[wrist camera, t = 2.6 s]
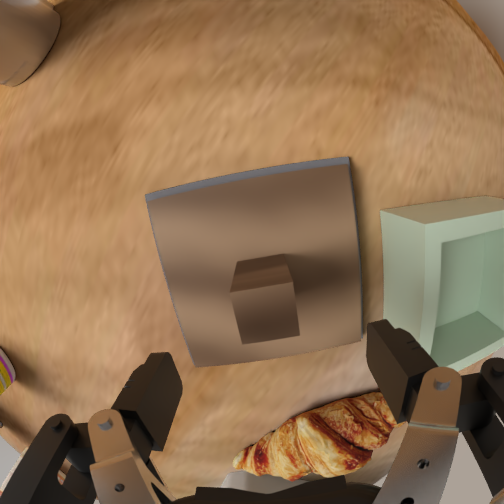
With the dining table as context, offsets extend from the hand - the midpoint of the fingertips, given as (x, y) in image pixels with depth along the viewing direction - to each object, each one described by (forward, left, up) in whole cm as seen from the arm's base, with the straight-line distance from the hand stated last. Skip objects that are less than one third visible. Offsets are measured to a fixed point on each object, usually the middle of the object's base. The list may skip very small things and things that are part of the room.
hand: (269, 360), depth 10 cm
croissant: (+18, +3, -10) cm, 21 cm away
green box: (+3, +15, -10) cm, 18 cm away
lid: (0, 0, -9) cm, 9 cm away
